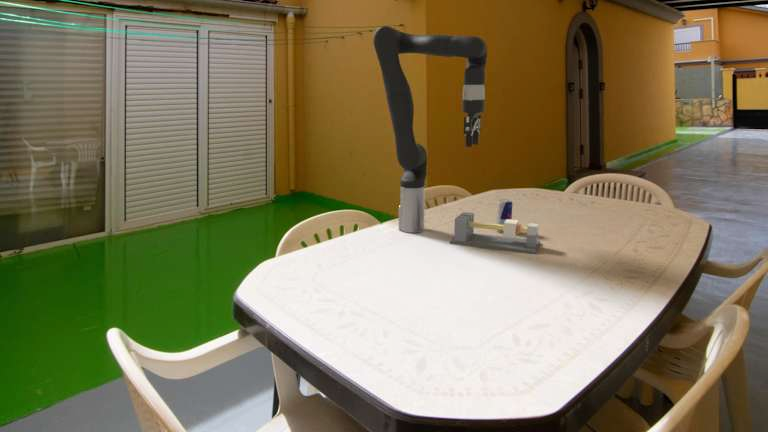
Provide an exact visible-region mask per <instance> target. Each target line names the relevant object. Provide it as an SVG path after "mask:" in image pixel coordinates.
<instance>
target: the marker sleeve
mask: <svg viewBox="0 0 768 432" xmlns="http://www.w3.org/2000/svg"><path fill="white" fill-rule="evenodd" d="M518 225H519V219H512V220H510V219H507V220H506V221H505V222H504V231H503V233H502V236H503V237H509V238H517V236H518V235H519V234H517V232H516V227H517V226H518Z"/></svg>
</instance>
